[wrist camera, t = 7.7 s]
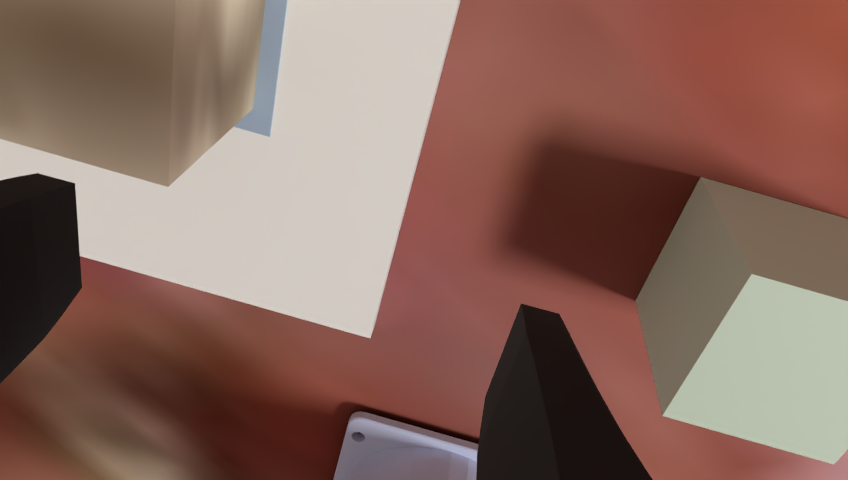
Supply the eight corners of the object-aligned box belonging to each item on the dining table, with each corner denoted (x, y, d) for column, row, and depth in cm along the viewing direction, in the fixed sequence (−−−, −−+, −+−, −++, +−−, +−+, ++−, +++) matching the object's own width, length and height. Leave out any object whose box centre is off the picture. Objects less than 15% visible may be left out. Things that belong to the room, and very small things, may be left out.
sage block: (771, 338, 21) (833, 464, 16) (635, 299, 21) (662, 415, 16) (853, 220, 18) (951, 330, 14) (700, 175, 18) (751, 273, 14)
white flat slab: (375, 323, 22) (369, 339, 22) (-19, 211, 22) (-38, 223, 22) (554, -354, 13) (555, -366, 12) (-124, -552, 13) (-163, -577, 12)
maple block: (253, 108, 18) (168, 187, 14) (96, 62, 18) (-38, 127, 14) (272, -65, 16) (177, -34, 11) (92, -117, 16) (-71, -106, 11)
